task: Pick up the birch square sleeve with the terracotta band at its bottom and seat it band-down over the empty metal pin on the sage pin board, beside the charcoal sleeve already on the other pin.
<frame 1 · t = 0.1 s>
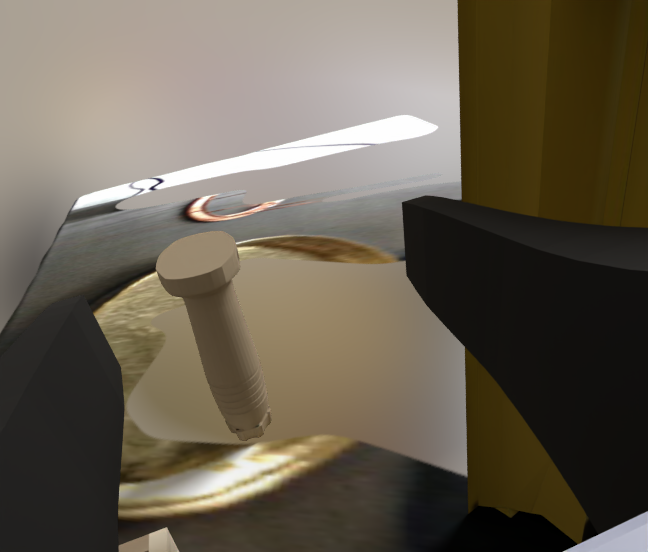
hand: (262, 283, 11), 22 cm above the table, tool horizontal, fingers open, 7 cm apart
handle: (252, 428, 37), on the table
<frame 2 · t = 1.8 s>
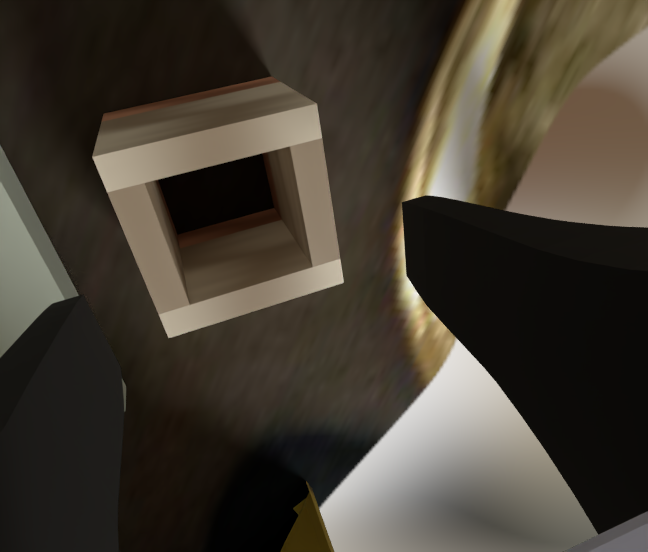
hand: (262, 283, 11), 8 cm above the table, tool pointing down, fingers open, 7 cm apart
birch sleeve: (213, 174, 17), on the table
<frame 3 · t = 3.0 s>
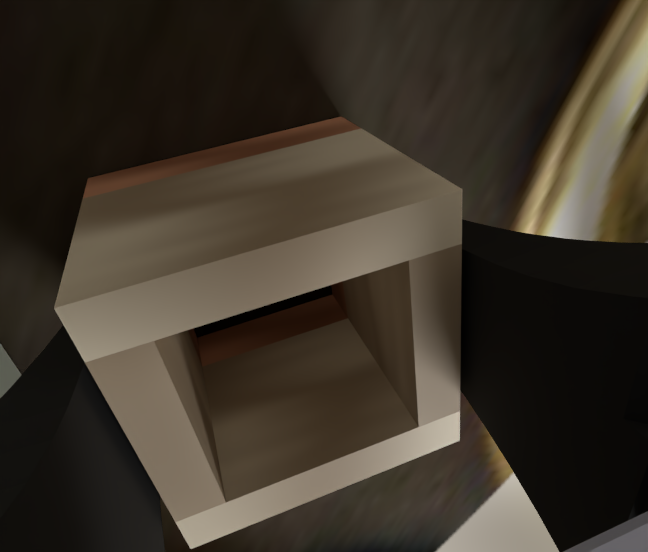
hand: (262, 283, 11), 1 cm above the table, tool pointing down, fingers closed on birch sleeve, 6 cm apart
birch sleeve: (250, 255, 12), on the table, touching gripper
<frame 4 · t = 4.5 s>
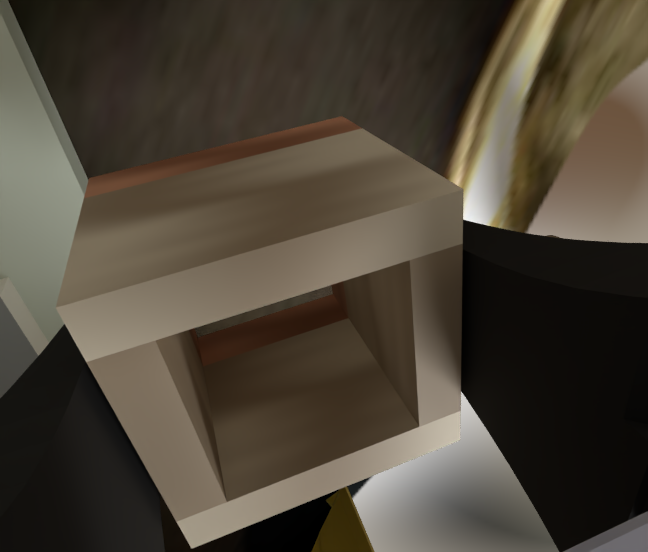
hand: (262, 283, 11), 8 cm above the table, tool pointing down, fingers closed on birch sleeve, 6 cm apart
birch sleeve: (251, 255, 12), point 7 cm above the table, touching gripper
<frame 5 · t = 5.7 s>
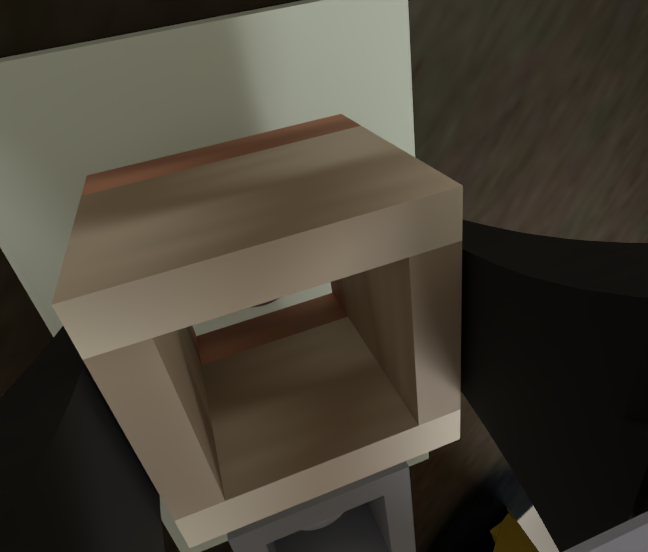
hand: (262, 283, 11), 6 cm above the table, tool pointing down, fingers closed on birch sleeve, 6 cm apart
pin board: (258, 319, 18), on the table
birch sleeve: (250, 253, 12), point 4 cm above the table, touching gripper
charcoal sleeve: (293, 435, 20), point 1 cm above the table, touching pin board
when the fingers open (4 cm above the table, at t = 6.5 s): birch sleeve drops 1 cm, resting on pin board.
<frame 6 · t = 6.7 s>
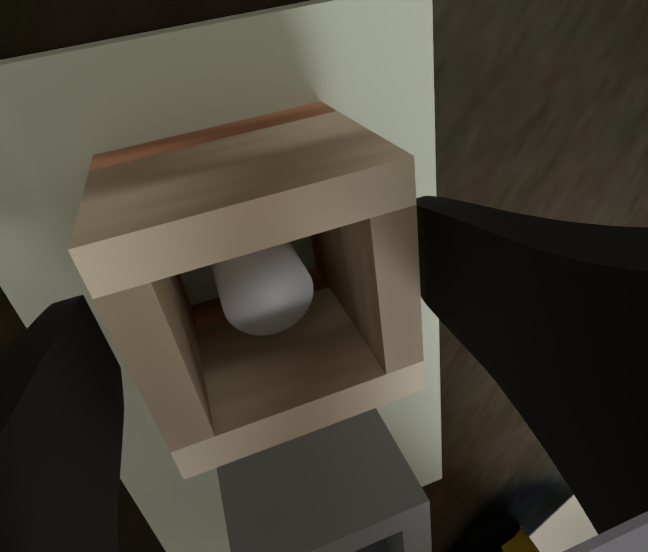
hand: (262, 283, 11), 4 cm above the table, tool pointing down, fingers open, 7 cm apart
pin board: (266, 337, 17), on the table
birch sleeve: (240, 229, 13), point 1 cm above the table, touching pin board
charcoal sleeve: (302, 458, 19), point 1 cm above the table, touching pin board
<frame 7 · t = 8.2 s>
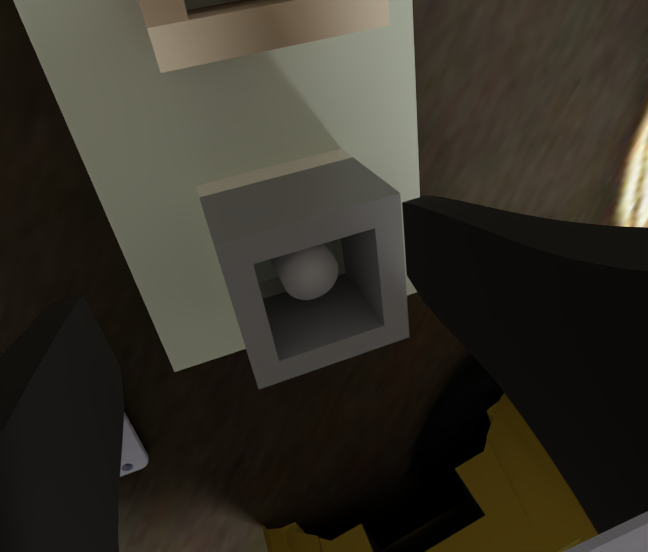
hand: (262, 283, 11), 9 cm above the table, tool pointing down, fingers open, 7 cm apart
pin board: (249, 97, 18), on the table
charcoal sleeve: (285, 233, 19), point 1 cm above the table, touching pin board
yellow recessed panel: (396, 509, 35), on the table
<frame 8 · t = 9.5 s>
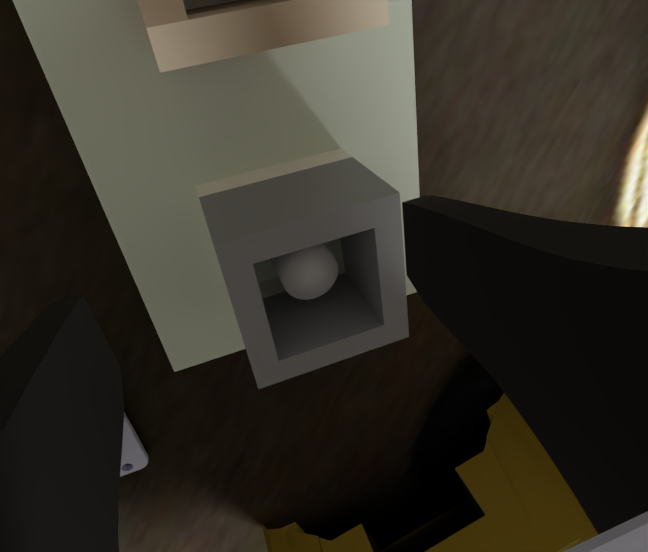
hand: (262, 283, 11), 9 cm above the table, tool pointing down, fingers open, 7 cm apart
pin board: (248, 97, 18), on the table
charcoal sleeve: (284, 232, 19), point 1 cm above the table, touching pin board
yellow recessed panel: (396, 509, 35), on the table
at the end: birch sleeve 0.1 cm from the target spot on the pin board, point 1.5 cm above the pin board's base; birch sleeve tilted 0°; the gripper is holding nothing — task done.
